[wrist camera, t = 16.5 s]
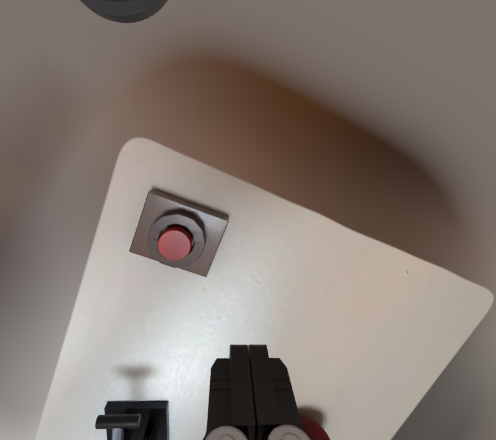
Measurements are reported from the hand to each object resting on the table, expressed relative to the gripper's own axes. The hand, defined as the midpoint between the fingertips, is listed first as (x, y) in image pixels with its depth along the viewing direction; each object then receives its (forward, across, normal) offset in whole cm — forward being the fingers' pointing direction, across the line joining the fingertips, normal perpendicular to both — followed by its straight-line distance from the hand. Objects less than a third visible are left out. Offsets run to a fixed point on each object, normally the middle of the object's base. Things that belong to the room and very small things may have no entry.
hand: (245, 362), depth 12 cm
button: (+23, +6, +3) cm, 24 cm away
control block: (+27, +6, +3) cm, 28 cm away
